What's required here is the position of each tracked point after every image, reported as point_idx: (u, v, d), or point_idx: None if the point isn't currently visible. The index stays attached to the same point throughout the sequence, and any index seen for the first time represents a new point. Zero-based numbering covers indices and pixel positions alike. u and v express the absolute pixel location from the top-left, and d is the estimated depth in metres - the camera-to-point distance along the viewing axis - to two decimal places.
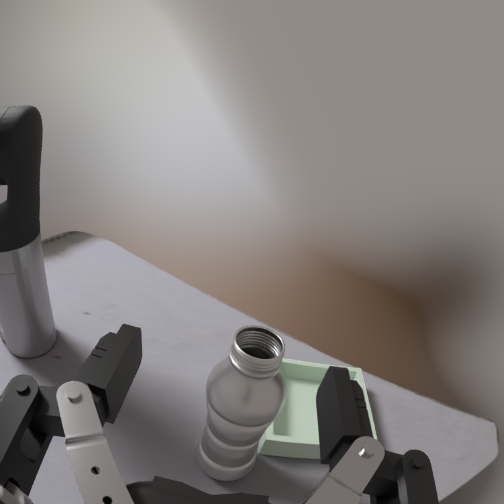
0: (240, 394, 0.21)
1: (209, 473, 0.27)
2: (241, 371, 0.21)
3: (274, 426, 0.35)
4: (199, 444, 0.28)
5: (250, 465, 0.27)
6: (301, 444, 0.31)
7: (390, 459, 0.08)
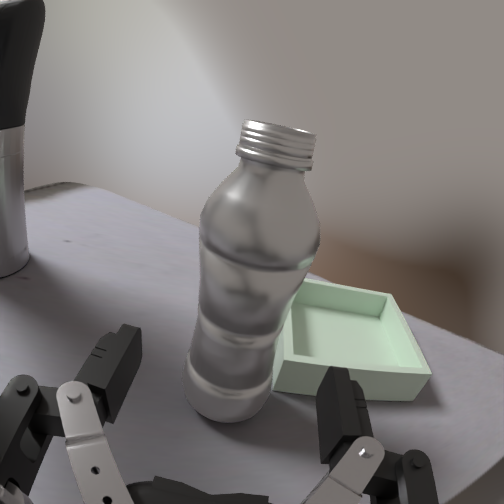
0: (253, 198, 0.14)
1: (201, 407, 0.19)
2: (255, 156, 0.14)
3: None
4: (187, 358, 0.21)
5: (263, 392, 0.20)
6: None
7: (390, 459, 0.08)
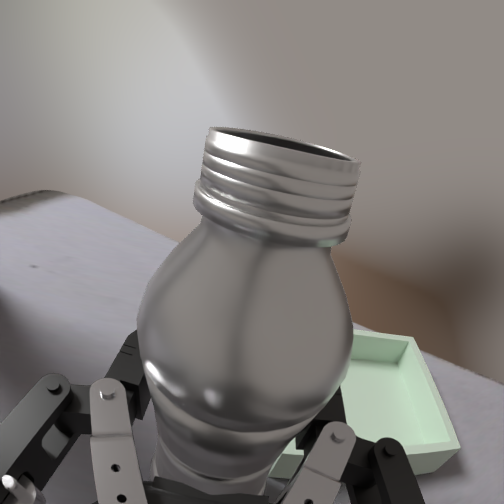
0: (225, 312, 0.06)
1: None
2: (227, 216, 0.06)
3: None
4: (153, 462, 0.13)
5: None
6: None
7: (363, 446, 0.09)
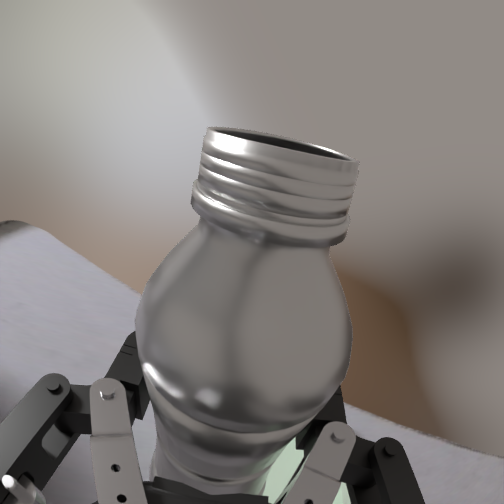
0: (222, 312, 0.06)
1: None
2: (225, 217, 0.06)
3: None
4: (153, 462, 0.13)
5: None
6: None
7: (363, 446, 0.09)
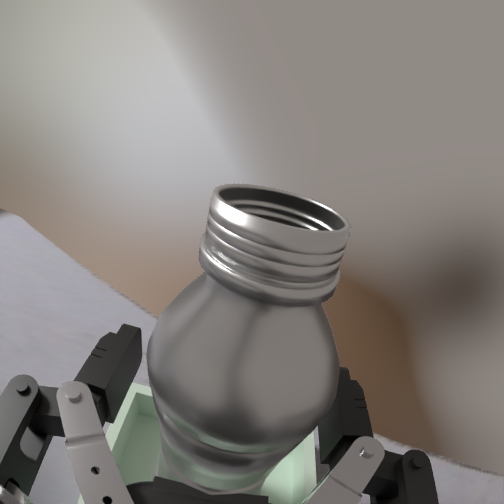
0: (228, 358, 0.07)
1: None
2: (231, 280, 0.07)
3: None
4: (155, 473, 0.14)
5: None
6: None
7: (390, 459, 0.08)
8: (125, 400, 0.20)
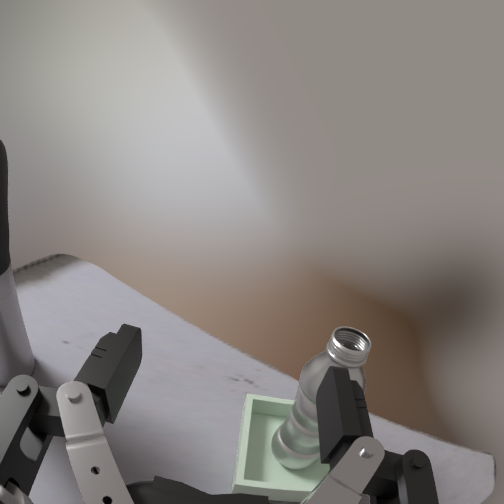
0: None
1: (287, 463, 0.30)
2: (340, 363, 0.25)
3: (249, 467, 0.31)
4: (278, 437, 0.32)
5: None
6: (273, 489, 0.27)
7: (390, 459, 0.08)
8: (248, 404, 0.38)
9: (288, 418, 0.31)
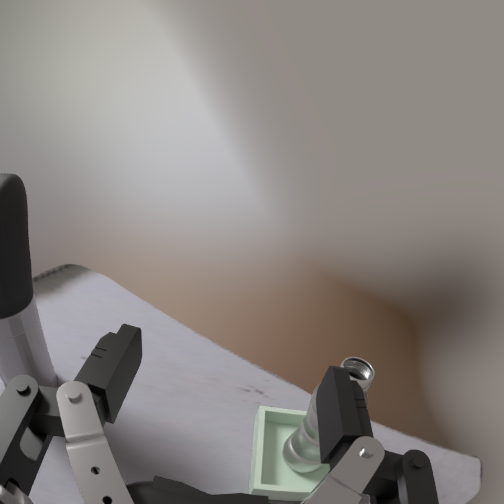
0: None
1: (297, 468, 0.34)
2: None
3: (263, 472, 0.35)
4: (290, 446, 0.35)
5: None
6: (286, 492, 0.30)
7: (390, 459, 0.08)
8: (261, 415, 0.41)
9: (299, 430, 0.34)
